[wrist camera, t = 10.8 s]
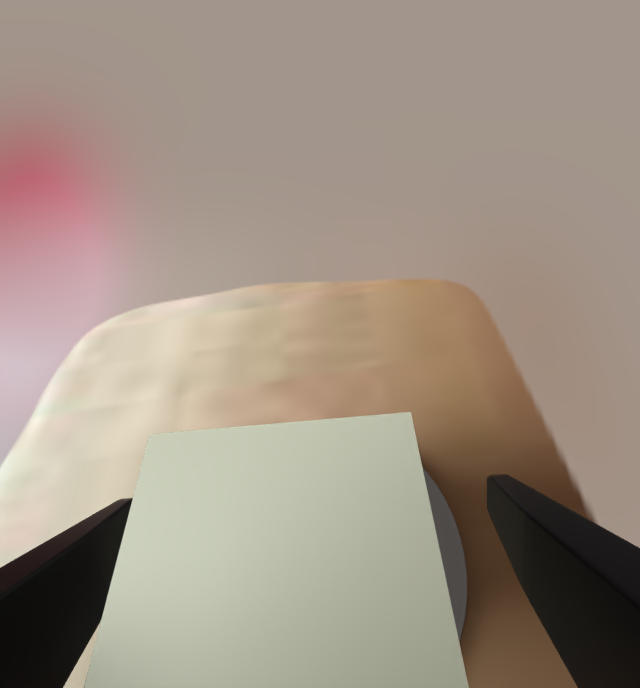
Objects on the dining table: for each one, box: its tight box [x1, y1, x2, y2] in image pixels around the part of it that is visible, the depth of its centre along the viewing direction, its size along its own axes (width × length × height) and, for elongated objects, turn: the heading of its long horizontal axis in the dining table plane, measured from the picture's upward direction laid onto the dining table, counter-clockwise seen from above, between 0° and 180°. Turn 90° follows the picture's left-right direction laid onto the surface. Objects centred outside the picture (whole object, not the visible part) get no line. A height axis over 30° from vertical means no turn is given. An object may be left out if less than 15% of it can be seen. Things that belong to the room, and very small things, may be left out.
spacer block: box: [84, 412, 469, 688], centre depth 9 cm, size 5×5×11 cm
